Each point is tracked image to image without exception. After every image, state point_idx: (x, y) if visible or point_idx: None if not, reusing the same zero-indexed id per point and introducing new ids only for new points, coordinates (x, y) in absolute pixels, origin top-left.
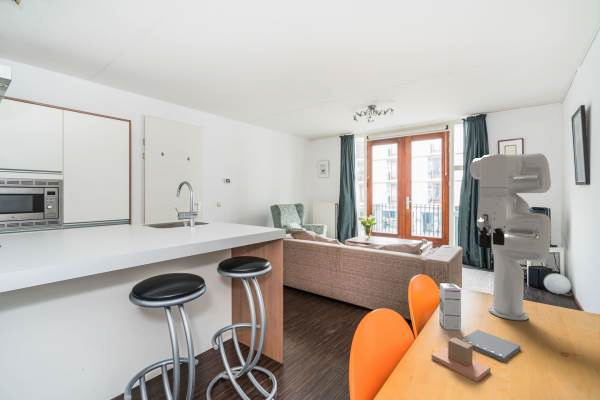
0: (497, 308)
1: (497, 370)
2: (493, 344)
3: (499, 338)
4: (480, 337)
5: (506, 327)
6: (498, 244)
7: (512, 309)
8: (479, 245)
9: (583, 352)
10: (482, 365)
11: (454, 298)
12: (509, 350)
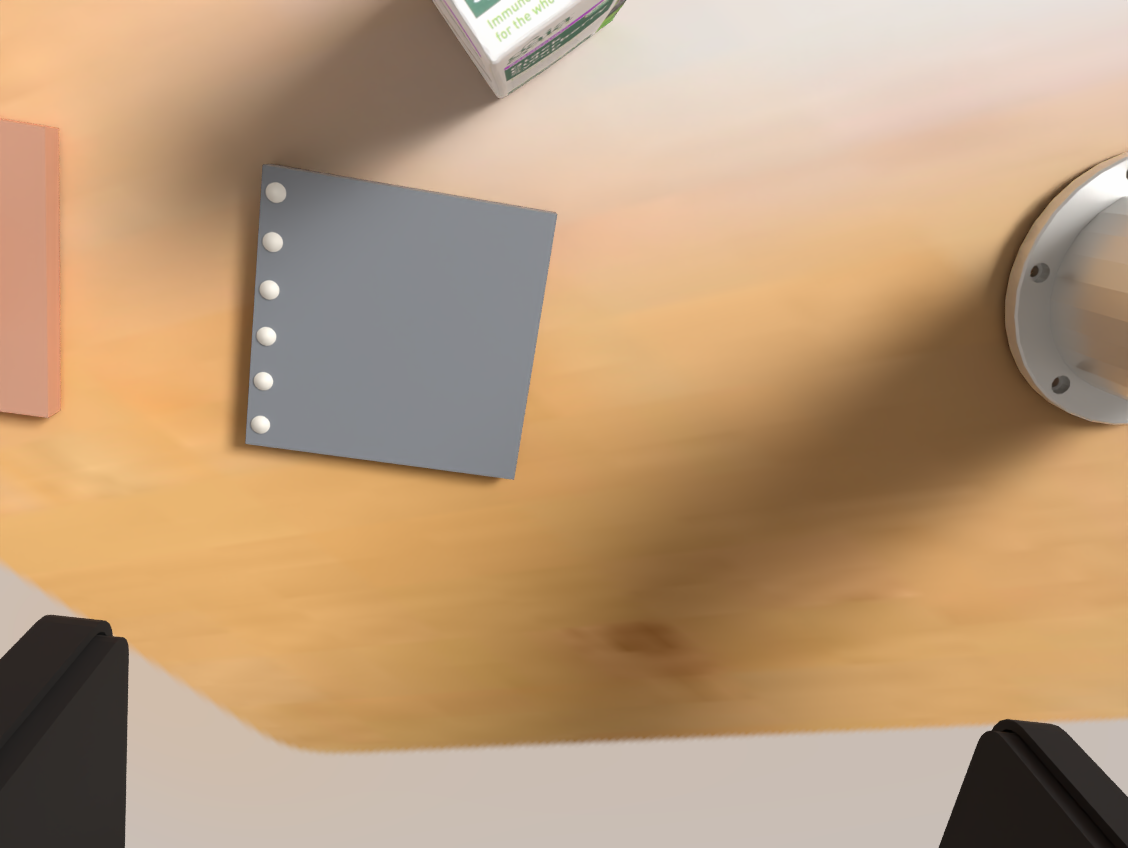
0: (1097, 238)
1: (120, 431)
2: (384, 358)
3: (517, 365)
4: (425, 267)
5: (826, 339)
6: (943, 845)
7: (1088, 354)
8: (37, 636)
9: (746, 699)
10: (27, 379)
11: (449, 12)
12: (378, 447)
